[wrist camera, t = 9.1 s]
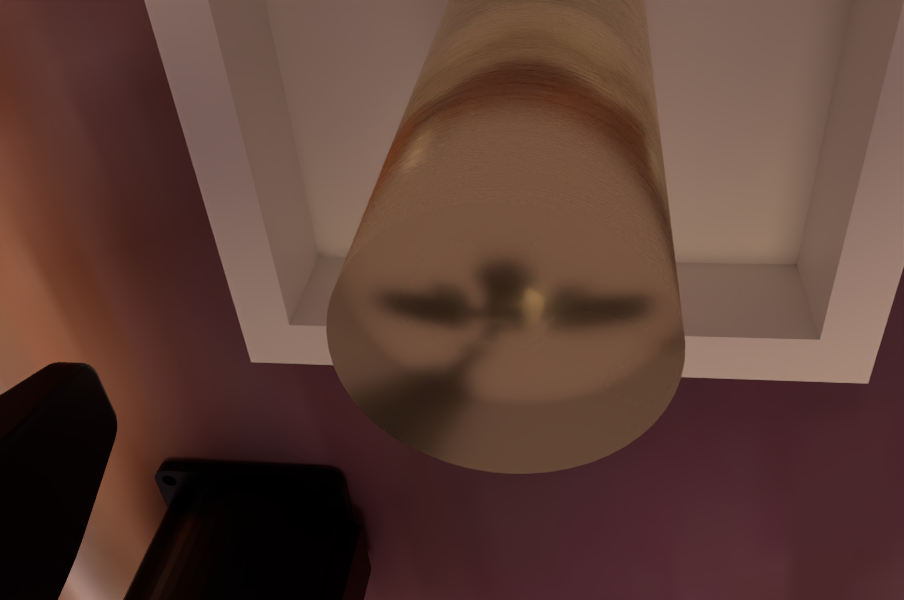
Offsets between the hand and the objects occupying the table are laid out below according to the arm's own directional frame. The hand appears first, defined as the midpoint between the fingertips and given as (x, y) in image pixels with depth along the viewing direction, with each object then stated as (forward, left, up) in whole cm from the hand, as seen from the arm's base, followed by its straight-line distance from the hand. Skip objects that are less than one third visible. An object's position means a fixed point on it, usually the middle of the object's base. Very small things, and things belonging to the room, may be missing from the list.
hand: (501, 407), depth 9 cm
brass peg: (0, 0, -11) cm, 11 cm away
